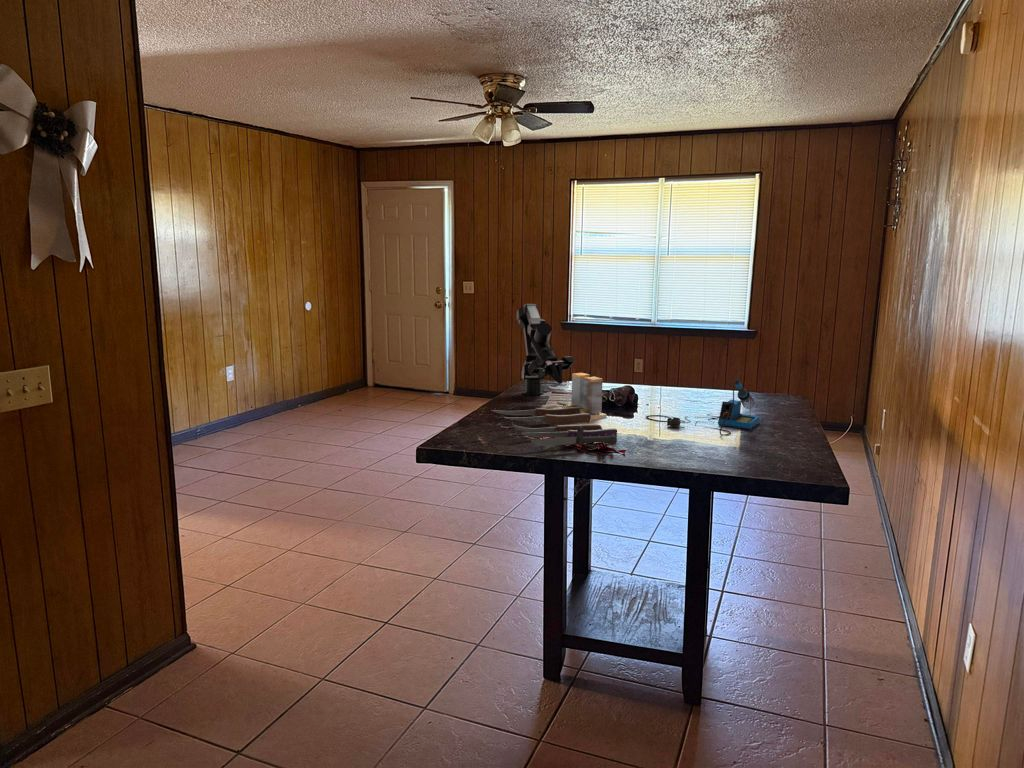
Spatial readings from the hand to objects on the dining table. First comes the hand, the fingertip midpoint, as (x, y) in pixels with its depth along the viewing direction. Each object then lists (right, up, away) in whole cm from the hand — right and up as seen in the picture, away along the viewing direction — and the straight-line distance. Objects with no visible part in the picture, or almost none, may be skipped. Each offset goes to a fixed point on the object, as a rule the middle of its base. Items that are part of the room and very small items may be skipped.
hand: (560, 383), depth 258 cm
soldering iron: (+47, -14, -17) cm, 51 cm away
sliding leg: (+4, -9, -9) cm, 13 cm away
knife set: (-5, -17, -38) cm, 42 cm away
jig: (+4, -11, -7) cm, 13 cm away
